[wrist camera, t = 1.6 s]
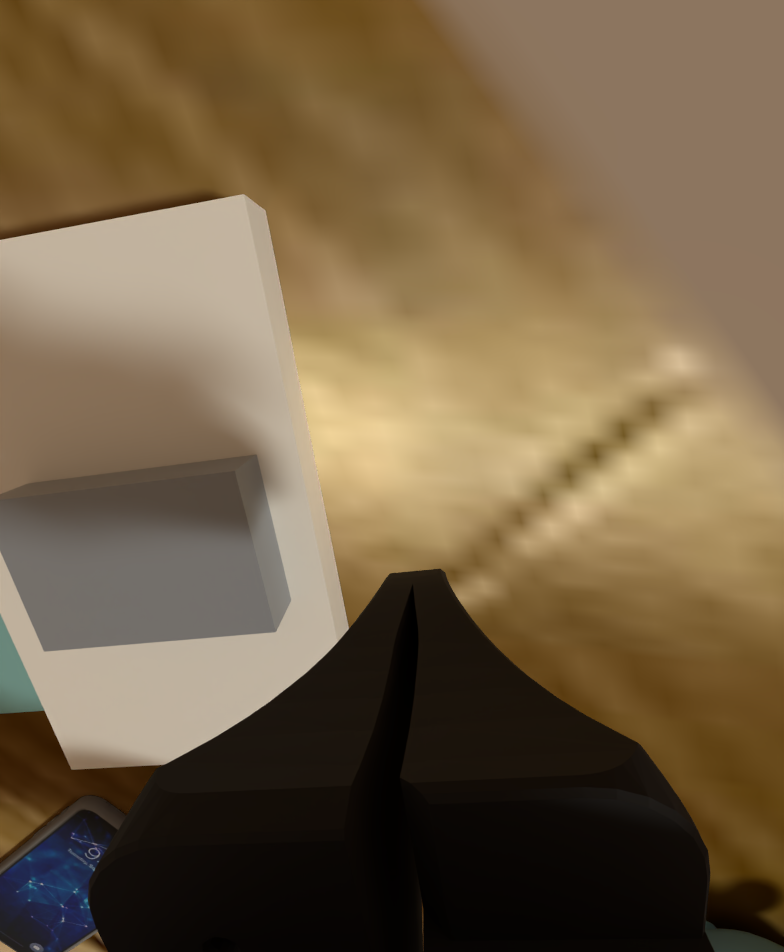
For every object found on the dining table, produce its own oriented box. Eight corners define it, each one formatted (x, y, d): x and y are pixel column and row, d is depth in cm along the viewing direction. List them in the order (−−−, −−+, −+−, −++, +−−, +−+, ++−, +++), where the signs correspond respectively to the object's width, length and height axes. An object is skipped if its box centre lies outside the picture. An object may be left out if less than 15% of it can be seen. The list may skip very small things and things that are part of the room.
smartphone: (-54, 909, 28) (83, 797, 24) (-39, 890, 29) (95, 780, 25) (43, 973, 29) (187, 876, 26) (54, 953, 30) (195, 857, 27)
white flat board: (366, 717, 22) (361, 753, 20) (100, 734, 24) (71, 769, 22) (265, 210, 16) (243, 194, 14) (-93, 276, 17) (-157, 269, 15)
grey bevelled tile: (291, 600, 18) (275, 632, 16) (82, 619, 19) (44, 651, 17) (256, 454, 16) (234, 470, 14) (28, 483, 17) (-22, 502, 15)
